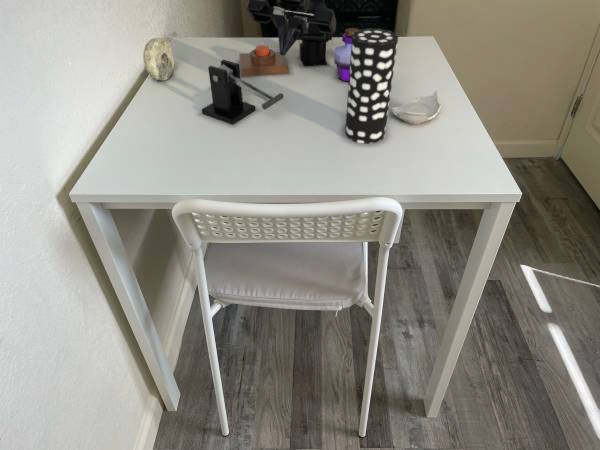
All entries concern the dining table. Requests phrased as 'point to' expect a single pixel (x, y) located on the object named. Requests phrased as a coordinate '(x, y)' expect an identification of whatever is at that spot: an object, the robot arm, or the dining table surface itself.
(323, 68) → the dining table surface
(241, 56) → the control block
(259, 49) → the button
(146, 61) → the stone ring
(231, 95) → the bracket
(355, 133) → the white-spotted black cylinder
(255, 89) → the lever
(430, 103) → the pottery shard
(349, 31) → the potion bottle
